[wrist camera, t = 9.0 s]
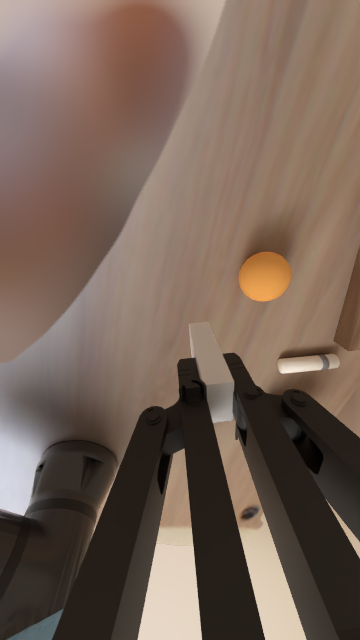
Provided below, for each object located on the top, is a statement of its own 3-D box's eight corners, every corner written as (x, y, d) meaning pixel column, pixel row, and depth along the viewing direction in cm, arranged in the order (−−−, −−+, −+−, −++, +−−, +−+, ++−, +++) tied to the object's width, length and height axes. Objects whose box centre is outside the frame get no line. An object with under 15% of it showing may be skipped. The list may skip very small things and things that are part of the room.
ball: (298, 296, 26) (253, 294, 31) (299, 246, 25) (252, 252, 29) (278, 308, 23) (231, 305, 27) (278, 250, 21) (227, 256, 25)
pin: (283, 377, 34) (337, 371, 34) (285, 364, 33) (341, 359, 33) (276, 367, 36) (327, 362, 37) (278, 355, 35) (330, 350, 35)
